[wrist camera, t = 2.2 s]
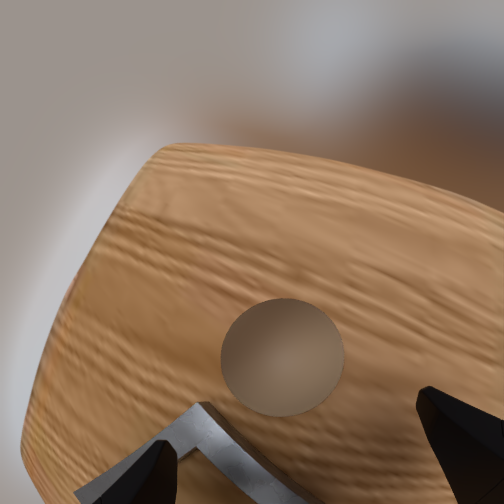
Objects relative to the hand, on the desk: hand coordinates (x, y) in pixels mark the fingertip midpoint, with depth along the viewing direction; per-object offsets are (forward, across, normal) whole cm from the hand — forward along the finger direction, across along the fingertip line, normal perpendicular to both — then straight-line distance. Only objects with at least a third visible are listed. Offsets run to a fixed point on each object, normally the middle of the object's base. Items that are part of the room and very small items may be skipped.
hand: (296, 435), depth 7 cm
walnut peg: (+9, 0, +5) cm, 11 cm away
